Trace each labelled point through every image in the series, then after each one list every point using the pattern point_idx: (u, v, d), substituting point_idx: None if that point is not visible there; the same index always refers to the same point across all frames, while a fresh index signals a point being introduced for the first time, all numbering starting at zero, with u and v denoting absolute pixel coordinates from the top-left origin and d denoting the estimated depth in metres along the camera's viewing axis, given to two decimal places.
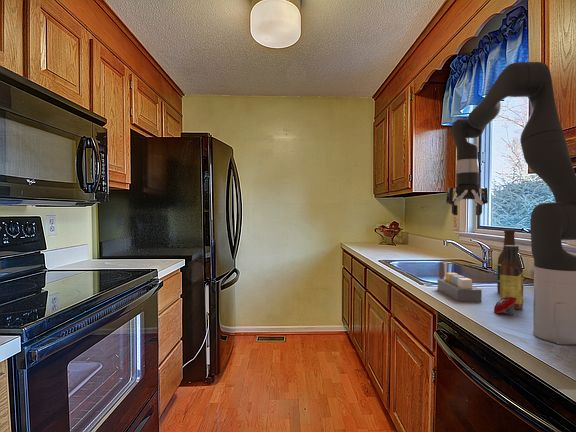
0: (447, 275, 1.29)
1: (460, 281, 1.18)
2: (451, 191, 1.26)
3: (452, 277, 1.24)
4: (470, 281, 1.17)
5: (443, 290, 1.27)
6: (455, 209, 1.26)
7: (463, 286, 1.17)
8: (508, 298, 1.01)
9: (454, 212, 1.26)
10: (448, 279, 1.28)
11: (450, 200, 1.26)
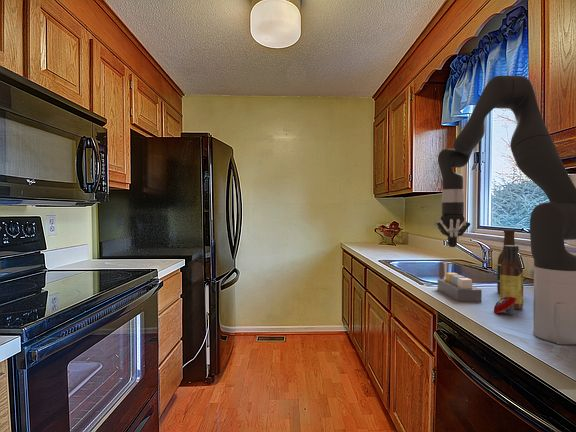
0: (447, 275, 1.29)
1: (460, 281, 1.18)
2: (440, 225, 1.27)
3: (452, 277, 1.24)
4: (470, 281, 1.17)
5: (443, 290, 1.27)
6: (451, 241, 1.27)
7: (463, 286, 1.17)
8: (508, 298, 1.01)
9: (450, 244, 1.28)
10: (448, 279, 1.28)
11: (446, 232, 1.27)
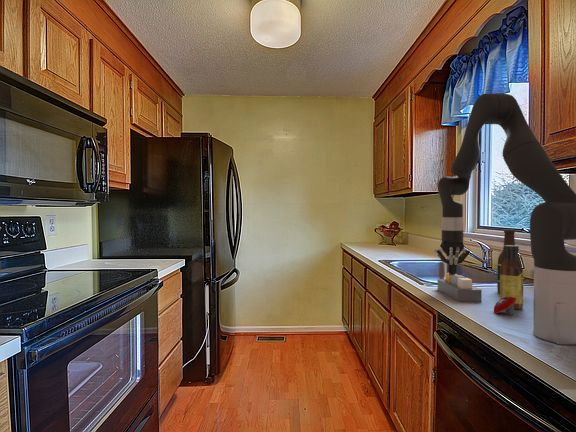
0: (447, 276, 1.29)
1: (460, 281, 1.18)
2: (440, 253, 1.27)
3: (452, 277, 1.24)
4: (470, 281, 1.17)
5: (443, 290, 1.27)
6: (451, 269, 1.28)
7: (463, 286, 1.17)
8: (508, 298, 1.01)
9: (450, 271, 1.28)
10: (448, 280, 1.28)
11: (446, 260, 1.27)
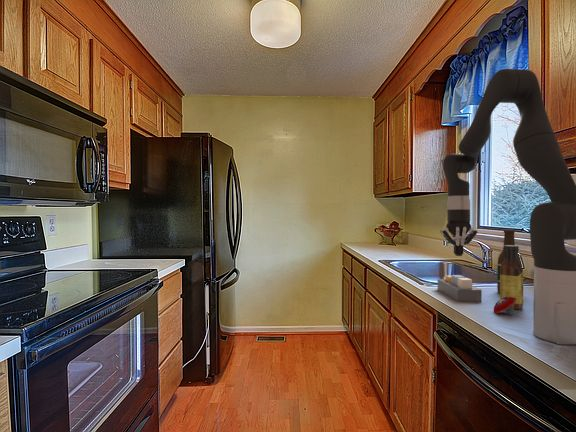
0: (447, 278, 1.29)
1: (460, 281, 1.18)
2: (446, 233, 1.22)
3: (452, 277, 1.24)
4: (470, 281, 1.17)
5: (443, 290, 1.27)
6: (457, 250, 1.22)
7: (463, 286, 1.17)
8: (508, 298, 1.01)
9: (456, 253, 1.23)
10: None
11: (452, 240, 1.22)
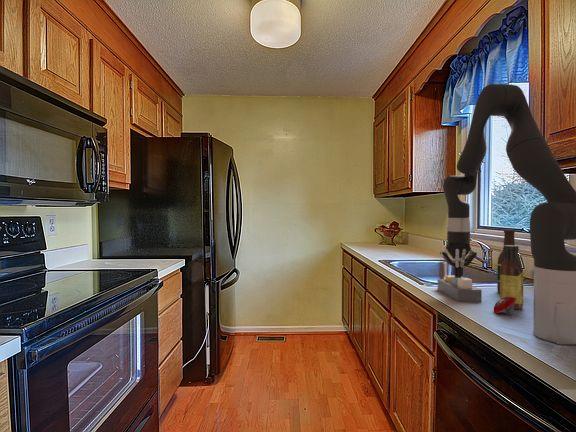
0: (447, 278, 1.29)
1: (460, 281, 1.18)
2: (445, 255, 1.22)
3: (452, 278, 1.24)
4: (470, 281, 1.17)
5: (443, 290, 1.27)
6: (457, 271, 1.23)
7: (463, 286, 1.17)
8: (508, 298, 1.01)
9: (456, 274, 1.23)
10: None
11: (452, 262, 1.22)
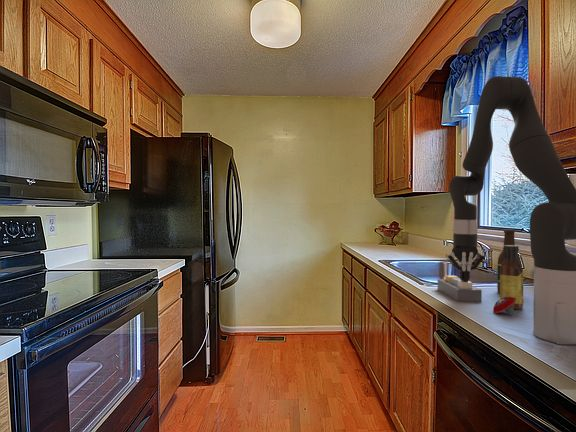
0: (447, 278, 1.29)
1: (460, 284, 1.18)
2: (451, 259, 1.17)
3: (452, 280, 1.24)
4: (470, 284, 1.17)
5: (443, 290, 1.27)
6: (463, 275, 1.18)
7: None
8: (507, 298, 1.01)
9: (462, 278, 1.18)
10: None
11: (458, 266, 1.17)
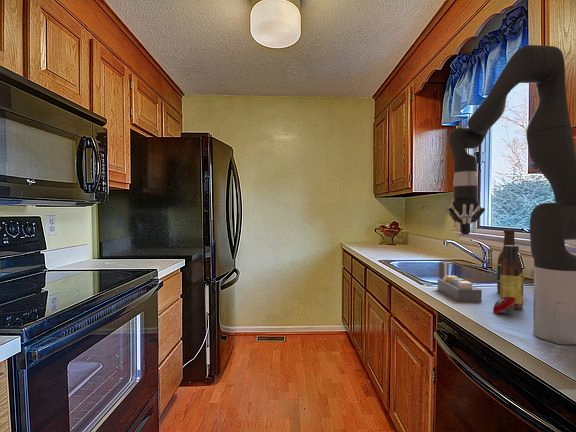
0: (447, 278, 1.29)
1: (460, 284, 1.18)
2: (452, 211, 1.17)
3: (452, 280, 1.24)
4: (470, 284, 1.17)
5: (443, 290, 1.27)
6: (464, 228, 1.17)
7: None
8: (507, 298, 1.01)
9: (463, 231, 1.18)
10: None
11: (458, 218, 1.17)
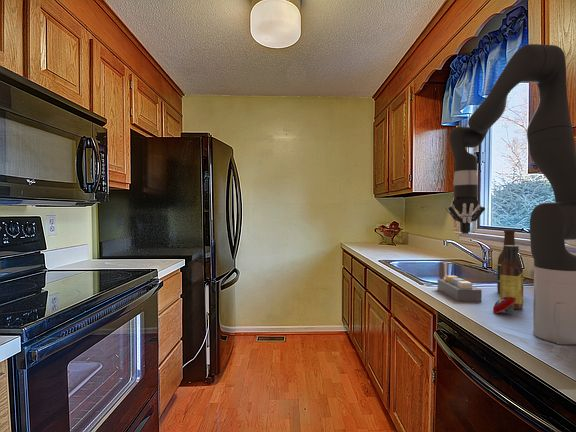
0: (447, 278, 1.29)
1: (460, 284, 1.18)
2: (452, 210, 1.17)
3: (452, 280, 1.24)
4: (470, 284, 1.17)
5: (443, 290, 1.27)
6: (464, 227, 1.17)
7: None
8: (507, 298, 1.01)
9: (463, 230, 1.17)
10: None
11: (459, 217, 1.17)
